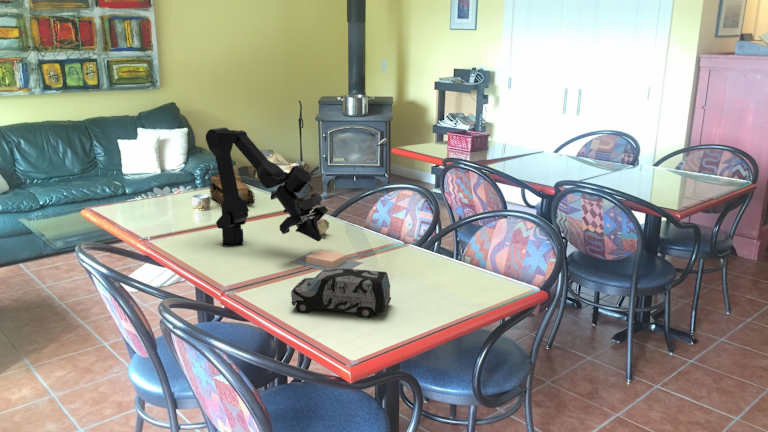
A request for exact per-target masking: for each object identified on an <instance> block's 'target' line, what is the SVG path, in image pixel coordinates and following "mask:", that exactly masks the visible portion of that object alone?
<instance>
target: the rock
mask: <svg viewBox="0 0 768 432" xmlns="http://www.w3.org/2000/svg"><path fill="white" fill-rule="evenodd" d="M317 226H318V230H319V233H320V236H322V235H324V234H325V233H326V232H327V230H329V227H330V221H328V220H327V219H326V218H323V217H322V218H321V219H320V220H319V221H317Z"/></svg>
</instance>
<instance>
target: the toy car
mask: <svg viewBox="0 0 768 432" xmlns="http://www.w3.org/2000/svg"><path fill="white" fill-rule="evenodd" d="M290 295H291V296H290V297H291V302H290V303H291V305H292V307H294V306H295V311H296V313H299V314H309V313H310V312H311V310H312V309H315V310H326V311H327V310H328V311H338V312H345V313H357V317H358V318H361V319H365V318H366V319H372V318H373V317H374V314H375V315H376V314H377V315H385V313H386V311H387V309H388V306H389V304H390V302H391V300H392V297H391V283H390V279H389V276H388V272H387V271H379V270H377V271H376V270H367V269H354V268H353V269H345V268H325V269H324V270H320V272H319V273H318V274H317V275H316V276H314V277H305V278H302V279H301V280H300V281H299V282H298V283H297V284H296V285H295V286H294V287H293V288H292V289H291V292H290Z"/></svg>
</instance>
